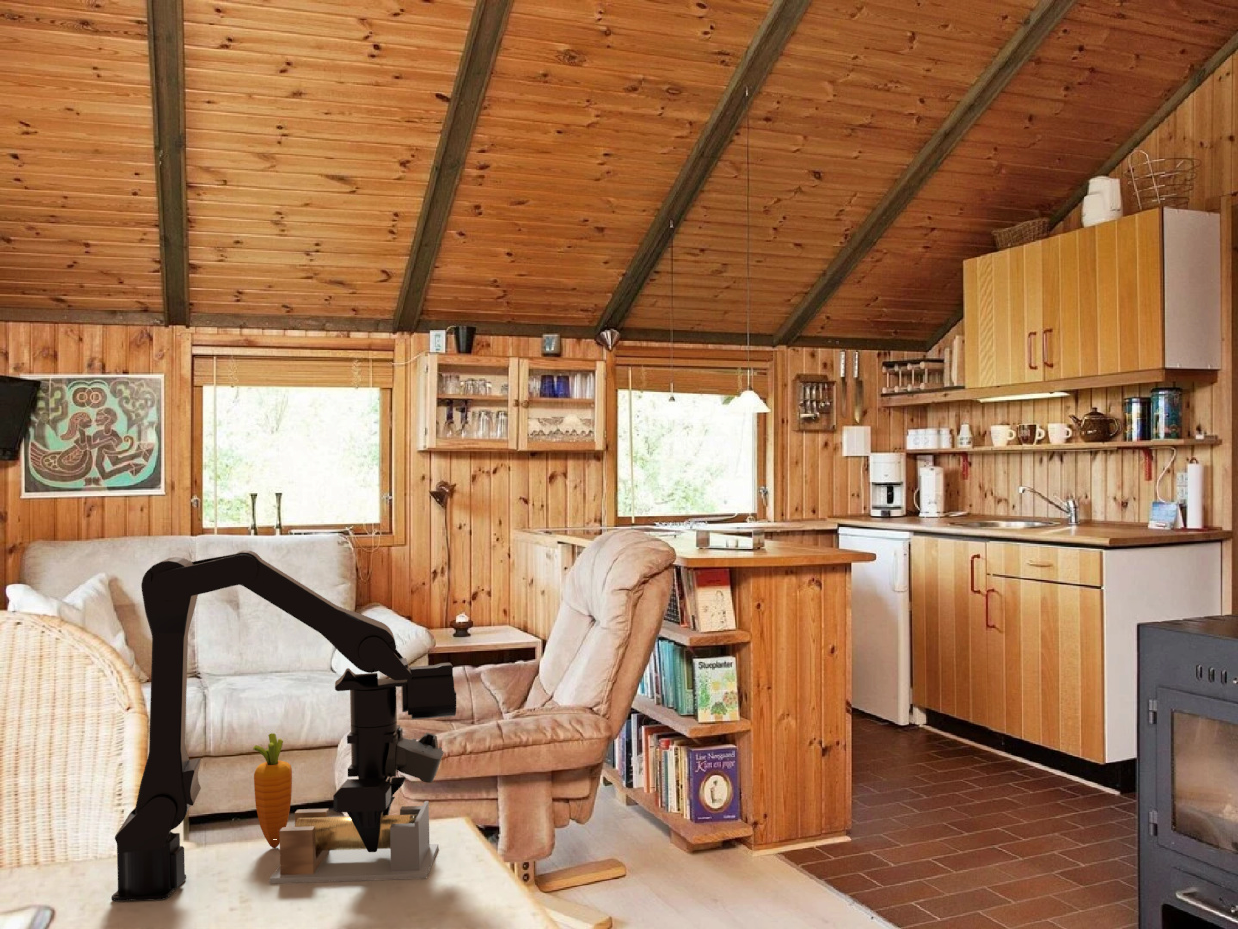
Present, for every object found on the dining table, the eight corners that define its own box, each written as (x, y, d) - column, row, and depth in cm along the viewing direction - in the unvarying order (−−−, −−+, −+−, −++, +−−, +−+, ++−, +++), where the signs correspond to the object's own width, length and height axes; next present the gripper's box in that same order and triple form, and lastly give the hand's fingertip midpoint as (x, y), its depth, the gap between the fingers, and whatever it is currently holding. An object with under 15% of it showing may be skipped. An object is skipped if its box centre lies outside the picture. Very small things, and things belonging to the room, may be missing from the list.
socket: (391, 871, 128) (389, 822, 128) (402, 847, 136) (401, 801, 136) (419, 870, 128) (418, 821, 128) (429, 847, 136) (428, 801, 136)
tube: (293, 856, 130) (293, 824, 130) (302, 844, 134) (302, 813, 134) (414, 852, 130) (414, 820, 130) (420, 841, 134) (419, 810, 134)
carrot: (282, 856, 136) (279, 741, 136) (247, 854, 137) (245, 739, 137) (301, 842, 141) (298, 731, 141) (267, 840, 142) (265, 730, 142)
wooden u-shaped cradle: (280, 875, 128) (279, 831, 128) (298, 851, 136) (297, 809, 136) (313, 874, 128) (312, 830, 128) (329, 850, 136) (328, 808, 136)
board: (269, 883, 127) (269, 878, 127) (293, 853, 137) (292, 848, 137) (426, 878, 127) (426, 873, 127) (438, 848, 137) (438, 844, 137)
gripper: (426, 740, 123) (428, 872, 123) (447, 704, 142) (449, 819, 142) (331, 742, 123) (333, 875, 123) (365, 706, 141) (367, 821, 141)
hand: (376, 845), depth 132 cm, fingers closed on tube, 4 cm apart
